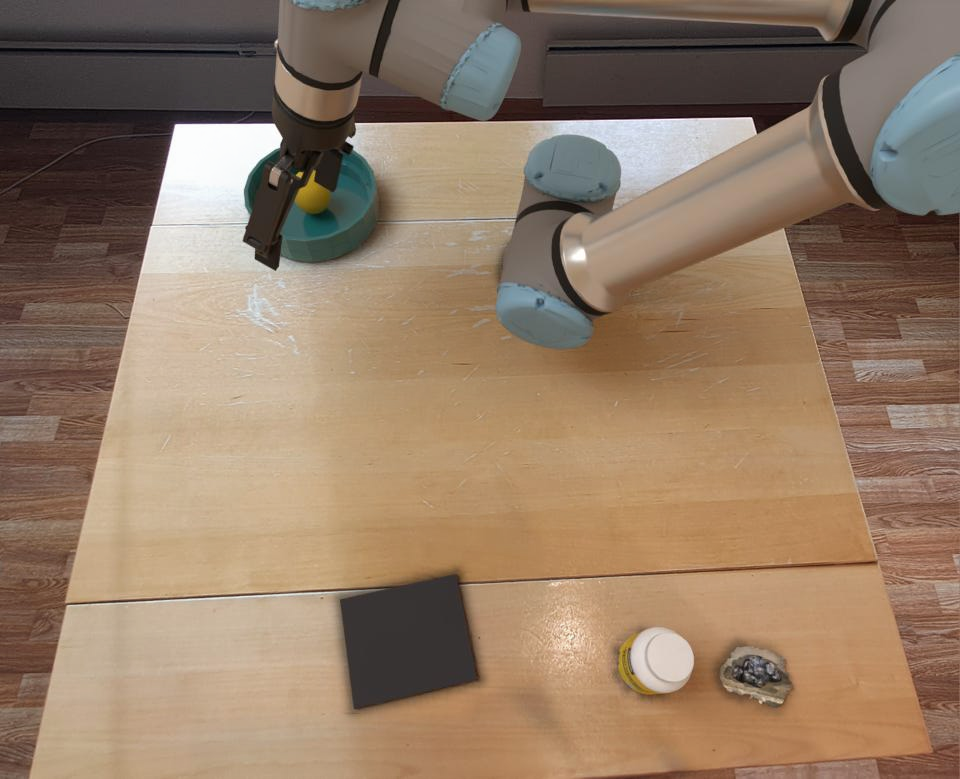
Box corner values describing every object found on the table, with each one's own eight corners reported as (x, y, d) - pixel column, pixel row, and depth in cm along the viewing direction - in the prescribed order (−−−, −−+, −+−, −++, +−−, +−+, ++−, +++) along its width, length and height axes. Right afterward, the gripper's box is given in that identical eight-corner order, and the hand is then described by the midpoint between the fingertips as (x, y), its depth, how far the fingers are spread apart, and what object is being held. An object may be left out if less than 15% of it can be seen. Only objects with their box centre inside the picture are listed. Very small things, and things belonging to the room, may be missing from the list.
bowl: (369, 158, 111) (365, 131, 106) (388, 252, 103) (384, 228, 98) (249, 175, 109) (239, 149, 104) (259, 273, 101) (249, 250, 96)
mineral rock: (795, 706, 77) (802, 706, 76) (726, 712, 77) (732, 712, 75) (779, 643, 80) (786, 641, 78) (712, 648, 80) (718, 647, 78)
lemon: (328, 227, 104) (318, 190, 97) (293, 221, 104) (281, 184, 97) (339, 199, 106) (330, 162, 99) (304, 193, 107) (293, 155, 100)
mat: (456, 574, 83) (456, 573, 82) (477, 679, 78) (477, 679, 77) (340, 600, 81) (339, 599, 81) (354, 709, 76) (353, 709, 76)
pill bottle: (610, 637, 80) (633, 624, 70) (665, 632, 80) (695, 619, 70) (620, 697, 77) (645, 694, 67) (676, 692, 78) (709, 688, 67)
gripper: (344, -2, 69) (320, 140, 87) (201, 157, 57) (209, 281, 76) (410, 39, 70) (372, 171, 88) (281, 204, 58) (269, 315, 77)
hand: (296, 222), depth 82 cm, fingers open, 13 cm apart
